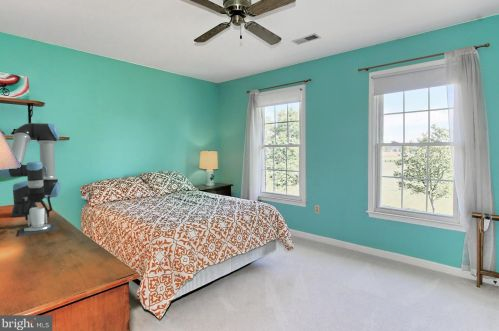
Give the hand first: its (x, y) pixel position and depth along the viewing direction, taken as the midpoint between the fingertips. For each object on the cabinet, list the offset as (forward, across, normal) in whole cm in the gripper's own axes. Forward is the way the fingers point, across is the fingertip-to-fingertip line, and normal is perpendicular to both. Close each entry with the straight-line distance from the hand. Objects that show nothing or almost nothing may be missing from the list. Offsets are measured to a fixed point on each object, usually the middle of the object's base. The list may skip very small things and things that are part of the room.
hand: (37, 223), depth 166 cm
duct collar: (0, 0, -15) cm, 15 cm away
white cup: (0, 0, 0) cm, 1 cm away
